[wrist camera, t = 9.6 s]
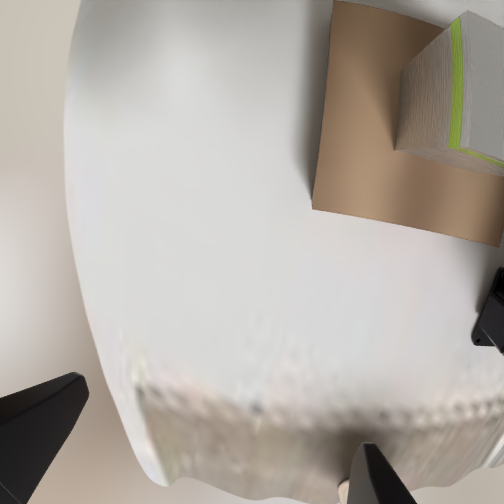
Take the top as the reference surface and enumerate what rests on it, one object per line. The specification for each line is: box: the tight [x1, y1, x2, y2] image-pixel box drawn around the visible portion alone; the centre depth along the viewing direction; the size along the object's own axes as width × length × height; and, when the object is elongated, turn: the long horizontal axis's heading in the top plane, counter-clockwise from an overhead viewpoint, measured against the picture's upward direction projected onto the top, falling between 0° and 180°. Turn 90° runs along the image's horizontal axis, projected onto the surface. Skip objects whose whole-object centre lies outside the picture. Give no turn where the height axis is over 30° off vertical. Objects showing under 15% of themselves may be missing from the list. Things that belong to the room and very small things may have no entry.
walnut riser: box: [312, 0, 504, 247], centre depth 14 cm, size 12×12×3 cm
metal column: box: [394, 10, 504, 176], centre depth 9 cm, size 4×4×8 cm
